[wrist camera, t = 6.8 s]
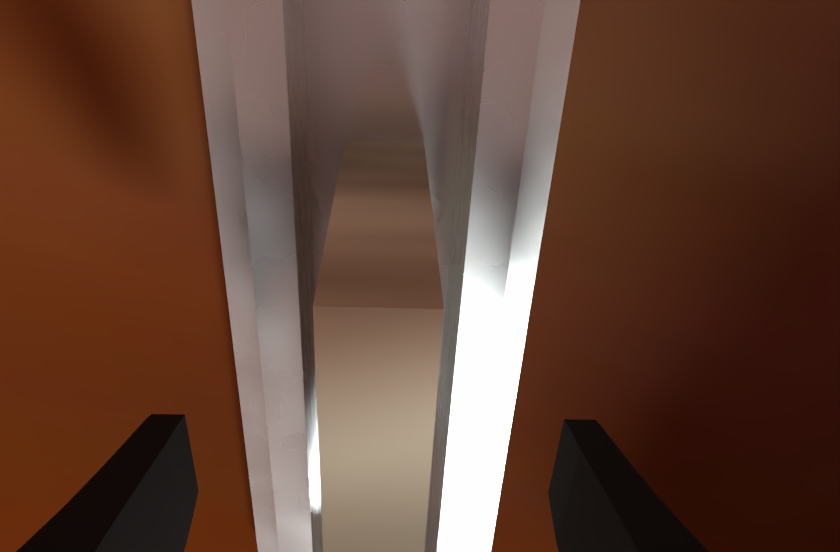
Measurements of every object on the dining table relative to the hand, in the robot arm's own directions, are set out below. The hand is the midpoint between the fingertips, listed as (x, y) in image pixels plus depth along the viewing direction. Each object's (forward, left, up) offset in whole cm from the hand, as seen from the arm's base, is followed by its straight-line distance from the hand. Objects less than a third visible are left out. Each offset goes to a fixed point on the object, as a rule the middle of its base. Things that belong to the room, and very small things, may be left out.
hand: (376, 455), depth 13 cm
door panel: (0, 0, -4) cm, 4 cm away
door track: (0, 0, -5) cm, 5 cm away
